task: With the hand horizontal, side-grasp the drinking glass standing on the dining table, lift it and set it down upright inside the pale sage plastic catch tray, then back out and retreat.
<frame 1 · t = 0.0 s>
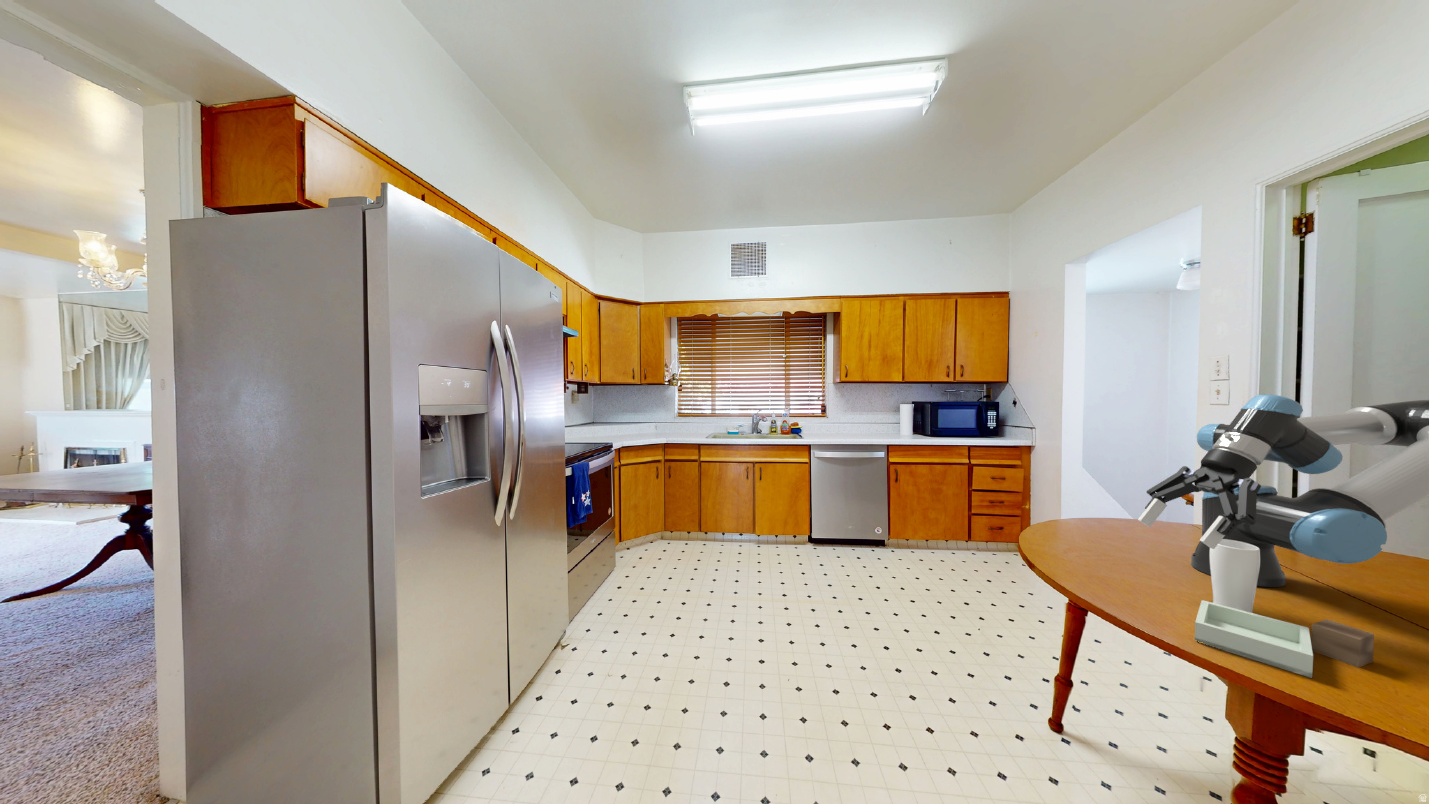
hand: (1172, 533, 96), 15 cm above the table, tool tilted 35°, fingers open, 13 cm apart
catch tray: (1250, 644, 80), on the table
walnut block: (1341, 656, 76), on the table
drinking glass: (1232, 614, 90), on the table
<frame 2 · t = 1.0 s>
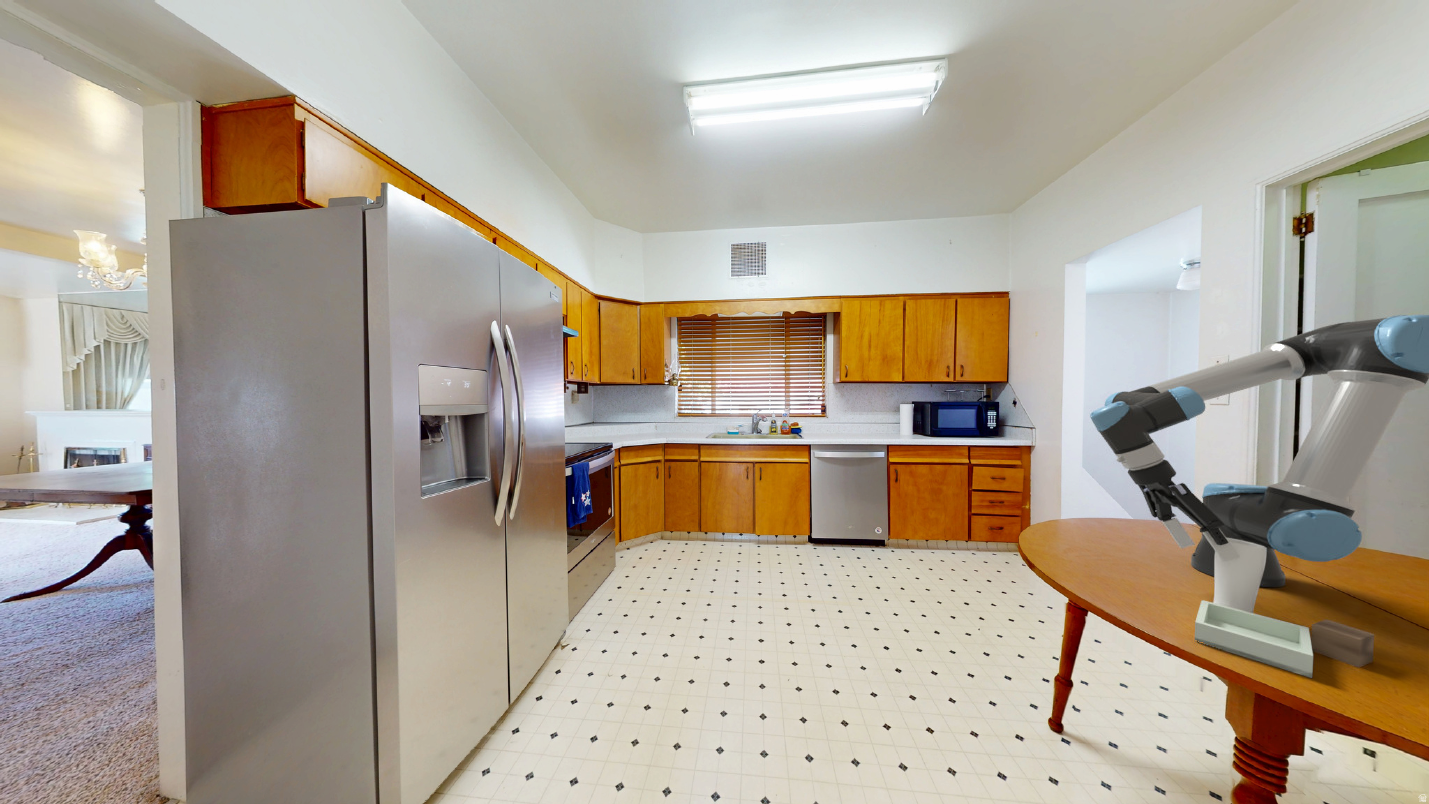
hand: (1208, 552, 95), 11 cm above the table, tool tilted 30°, fingers open, 13 cm apart
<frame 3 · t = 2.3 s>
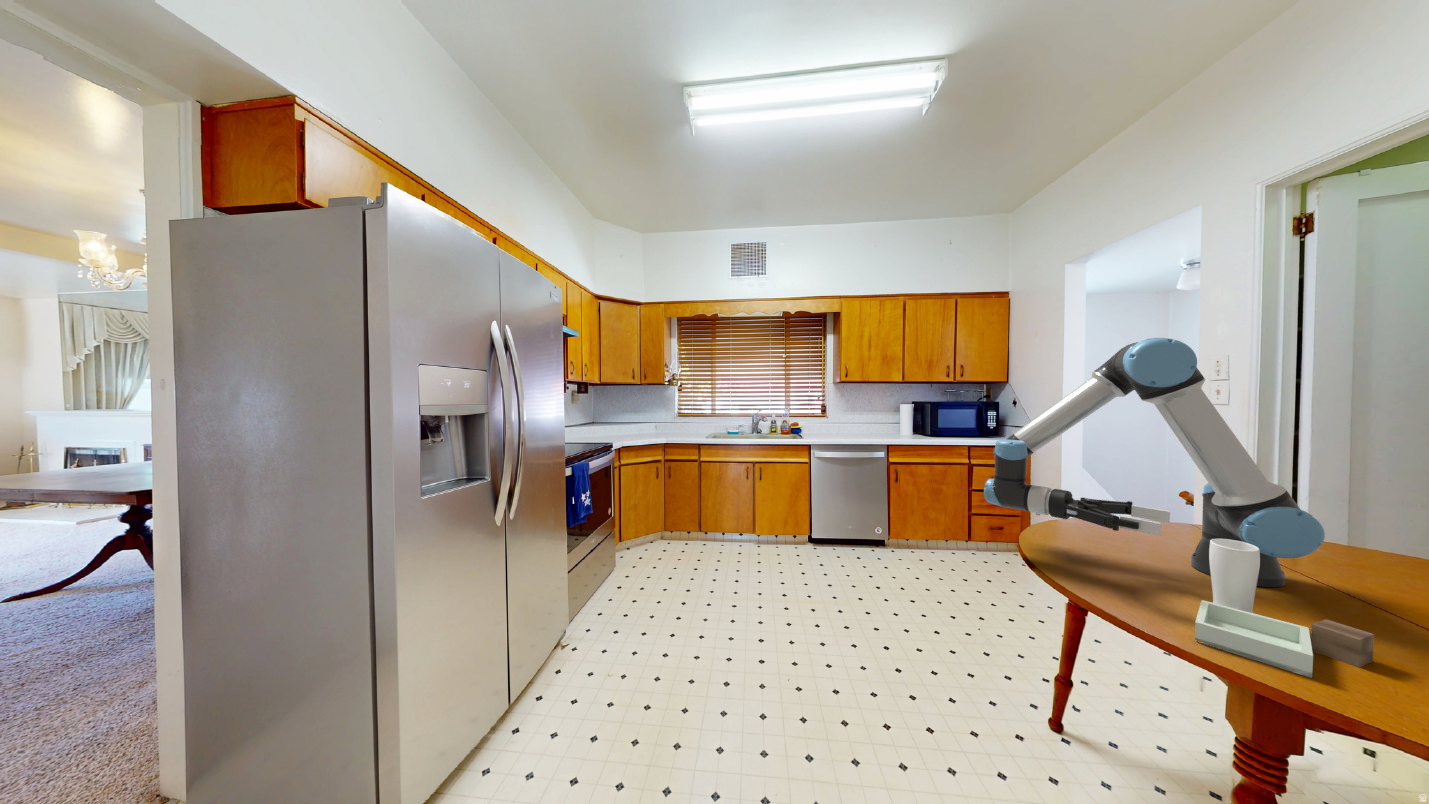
hand: (1165, 523, 97), 17 cm above the table, tool horizontal, fingers open, 13 cm apart
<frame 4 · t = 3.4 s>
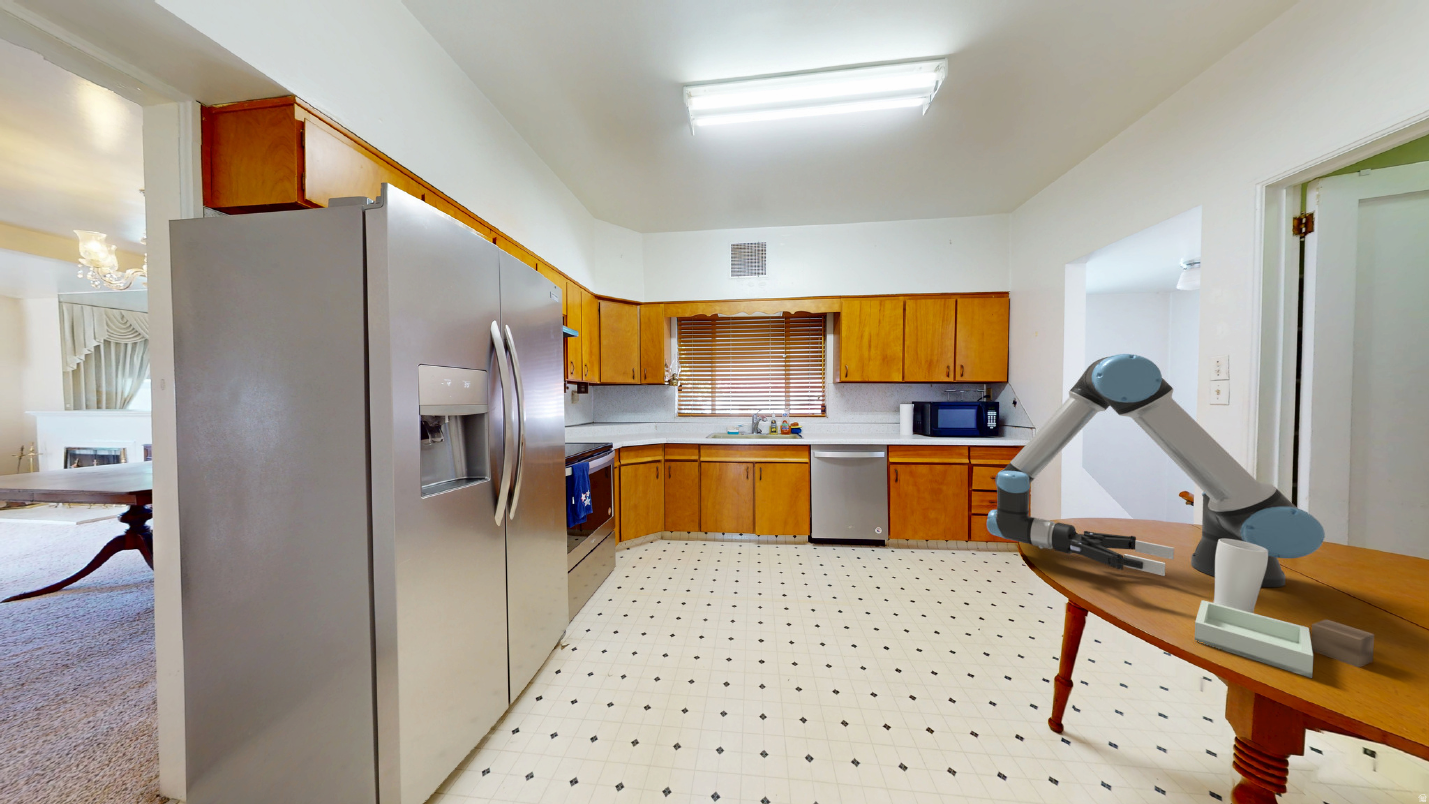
hand: (1169, 561, 97), 8 cm above the table, tool horizontal, fingers open, 13 cm apart
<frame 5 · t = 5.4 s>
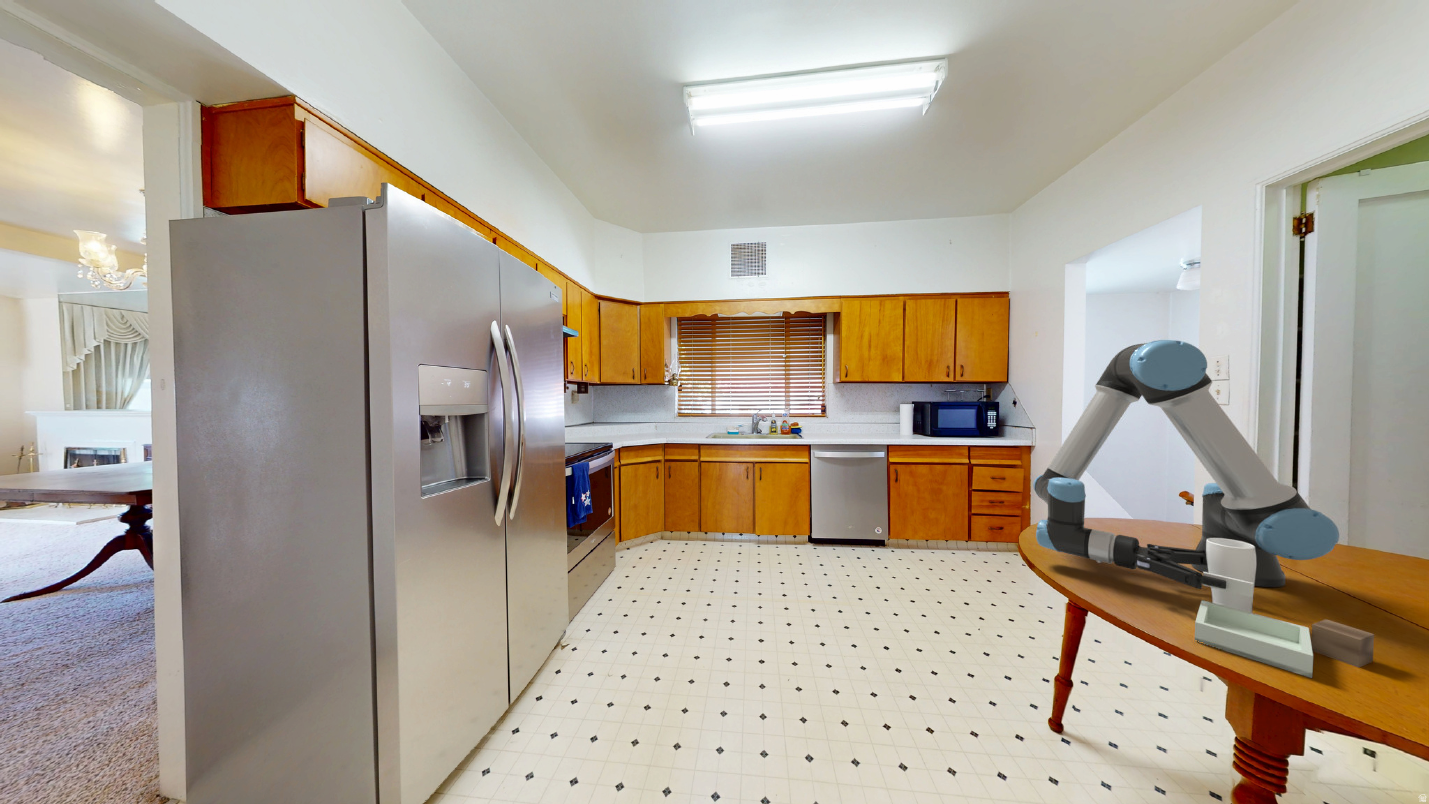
hand: (1254, 580, 88), 8 cm above the table, tool horizontal, fingers open, 13 cm apart
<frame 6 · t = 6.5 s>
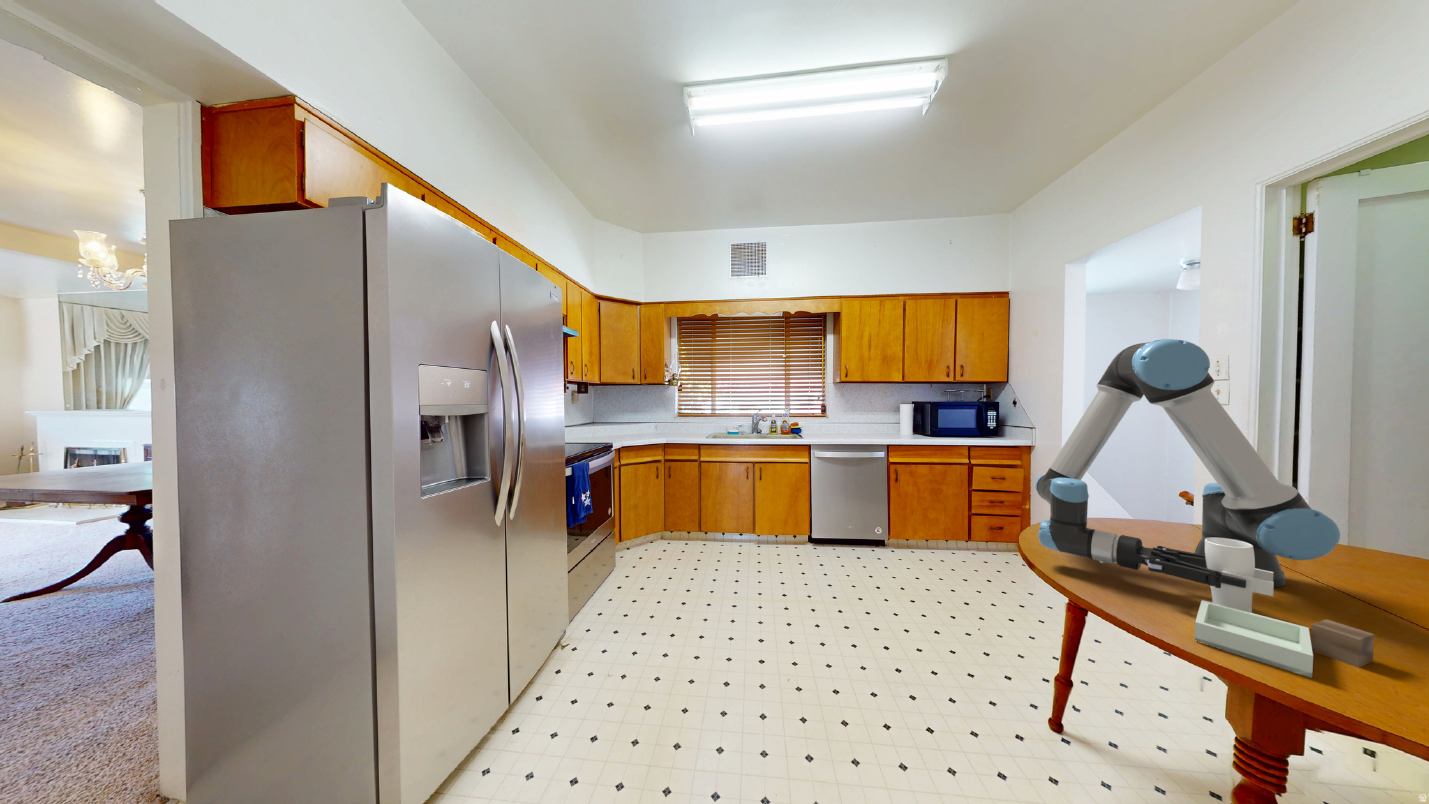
hand: (1272, 583, 86), 8 cm above the table, tool horizontal, fingers closed on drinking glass, 6 cm apart
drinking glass: (1232, 613, 90), on the table, touching gripper
everything else where it was.
when the fingers open (11 cm above the table, at t = 10.6 s): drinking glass drops 2 cm, resting on catch tray.
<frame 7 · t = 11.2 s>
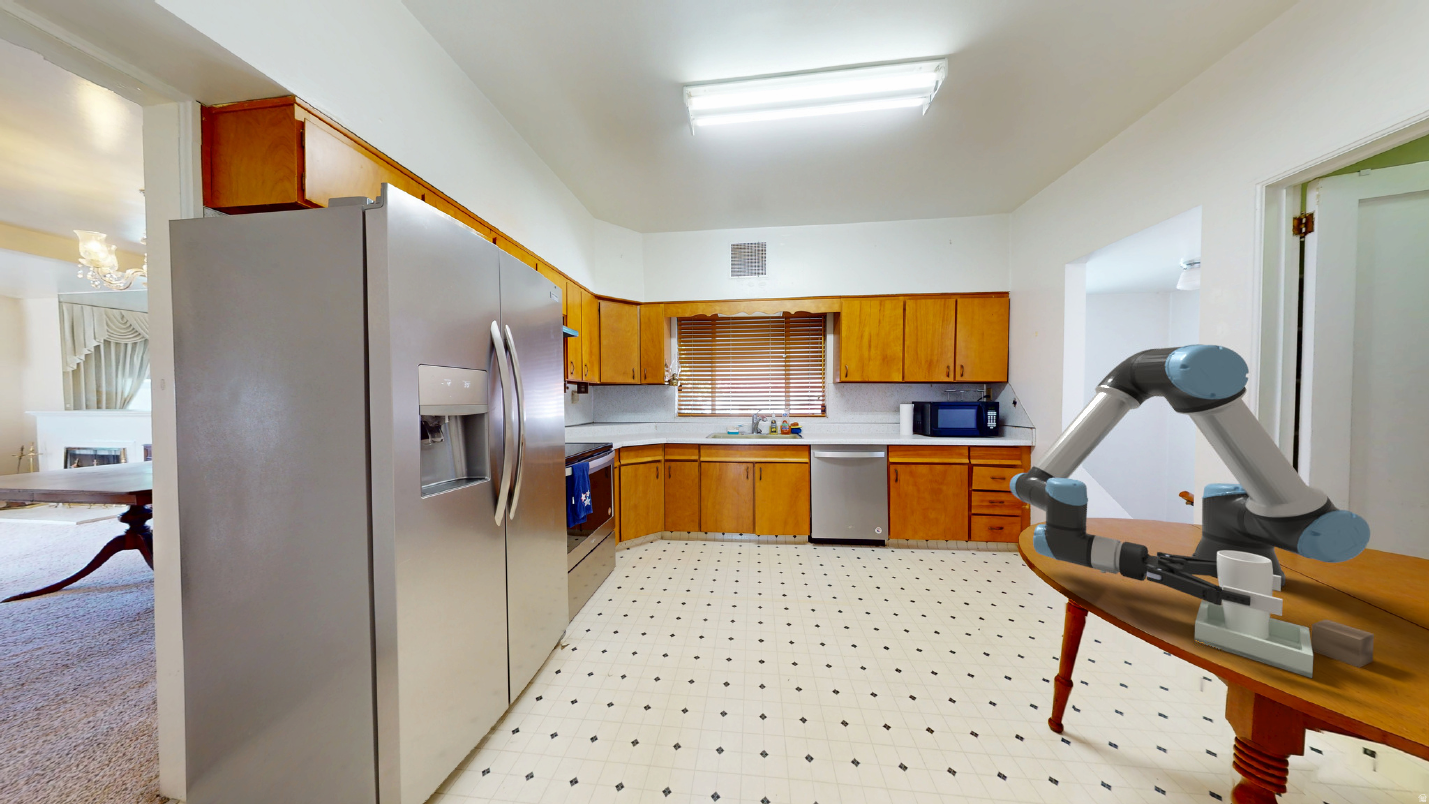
hand: (1281, 595, 77), 11 cm above the table, tool horizontal, fingers open, 13 cm apart
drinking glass: (1246, 635, 81), point 1 cm above the table, touching catch tray
everything else where it was.
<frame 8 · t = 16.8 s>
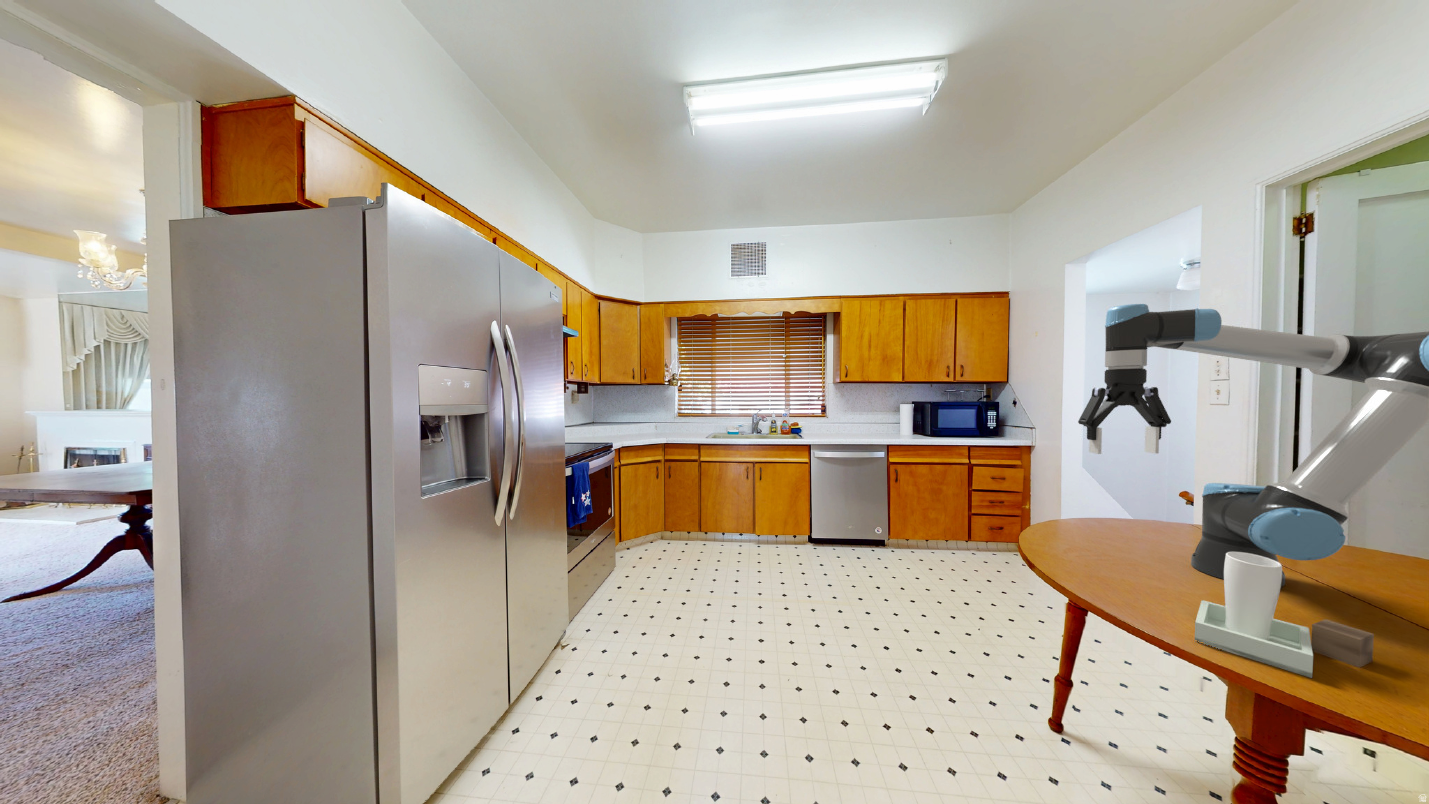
hand: (1123, 453, 106), 32 cm above the table, tool pointing down, fingers open, 13 cm apart
at the end: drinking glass inside the target area on the catch tray (2.2 cm from its centre), point 0.6 cm above the catch tray's base; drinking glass tilted 1°; the gripper is holding nothing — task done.
